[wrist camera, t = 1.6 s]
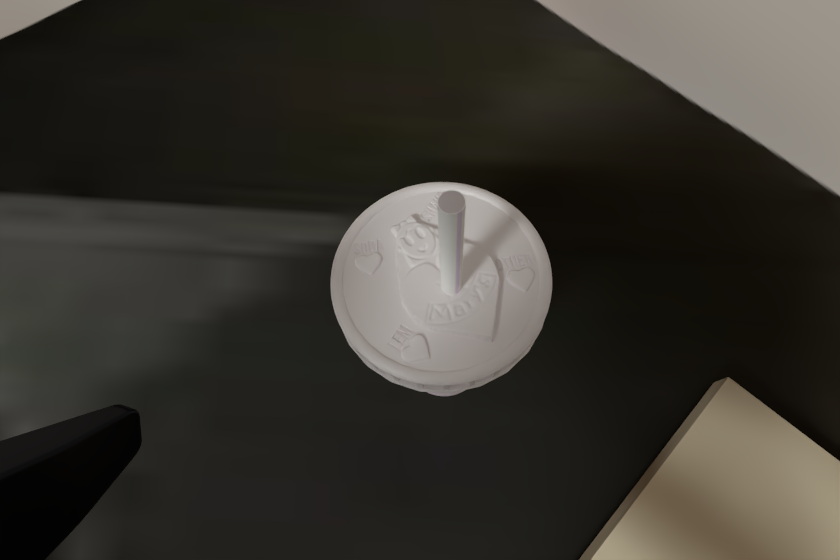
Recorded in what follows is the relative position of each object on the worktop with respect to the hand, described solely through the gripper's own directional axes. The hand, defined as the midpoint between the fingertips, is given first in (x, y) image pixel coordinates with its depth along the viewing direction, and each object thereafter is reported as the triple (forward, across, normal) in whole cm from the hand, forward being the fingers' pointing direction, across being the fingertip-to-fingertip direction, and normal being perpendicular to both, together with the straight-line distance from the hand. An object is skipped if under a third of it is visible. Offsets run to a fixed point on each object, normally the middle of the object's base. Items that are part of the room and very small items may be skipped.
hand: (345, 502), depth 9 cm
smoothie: (+13, 0, +5) cm, 14 cm away
